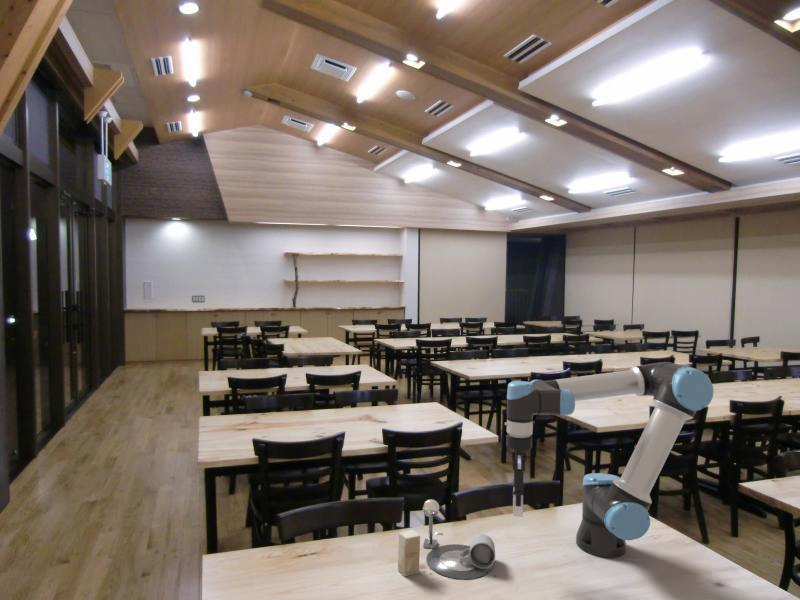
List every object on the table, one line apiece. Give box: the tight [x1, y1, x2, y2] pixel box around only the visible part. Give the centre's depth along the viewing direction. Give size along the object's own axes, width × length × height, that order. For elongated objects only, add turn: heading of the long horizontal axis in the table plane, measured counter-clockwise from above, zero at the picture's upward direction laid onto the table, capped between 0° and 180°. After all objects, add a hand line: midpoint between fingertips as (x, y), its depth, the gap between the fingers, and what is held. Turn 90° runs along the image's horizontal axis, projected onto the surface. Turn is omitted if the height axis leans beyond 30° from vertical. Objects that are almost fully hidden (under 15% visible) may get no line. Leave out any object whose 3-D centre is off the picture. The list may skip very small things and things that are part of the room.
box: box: [397, 529, 421, 577], centre depth 153 cm, size 5×4×11 cm
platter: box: [426, 543, 494, 580], centre depth 159 cm, size 20×20×1 cm
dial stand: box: [422, 499, 444, 550], centre depth 169 cm, size 6×4×14 cm, turn 79°
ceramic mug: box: [459, 533, 496, 569], centre depth 159 cm, size 11×8×8 cm
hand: (517, 512), depth 156 cm, fingers open, 4 cm apart
